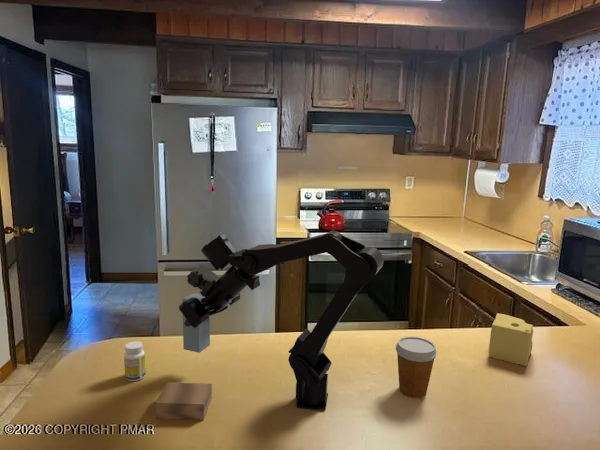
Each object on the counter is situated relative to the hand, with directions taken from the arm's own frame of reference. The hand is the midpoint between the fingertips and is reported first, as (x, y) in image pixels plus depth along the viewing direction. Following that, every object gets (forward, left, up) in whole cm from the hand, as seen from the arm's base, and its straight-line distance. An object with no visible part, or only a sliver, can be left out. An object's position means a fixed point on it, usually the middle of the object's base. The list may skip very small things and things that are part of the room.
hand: (191, 321), depth 110 cm
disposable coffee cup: (-54, -2, -14) cm, 56 cm away
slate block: (-1, 0, -7) cm, 7 cm away
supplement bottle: (+13, +5, -14) cm, 19 cm away
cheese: (-83, -27, -14) cm, 89 cm away
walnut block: (-4, +15, -14) cm, 21 cm away
